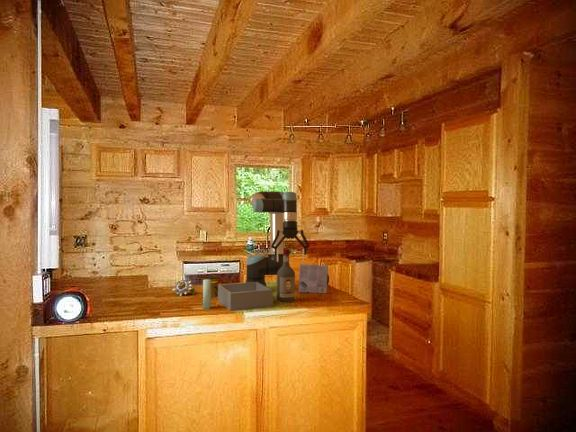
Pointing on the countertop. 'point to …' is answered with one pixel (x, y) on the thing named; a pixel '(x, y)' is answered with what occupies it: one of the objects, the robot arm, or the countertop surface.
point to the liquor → (286, 280)
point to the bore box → (245, 296)
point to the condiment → (214, 286)
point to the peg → (206, 294)
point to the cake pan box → (313, 278)
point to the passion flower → (183, 287)
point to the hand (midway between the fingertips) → (290, 261)
